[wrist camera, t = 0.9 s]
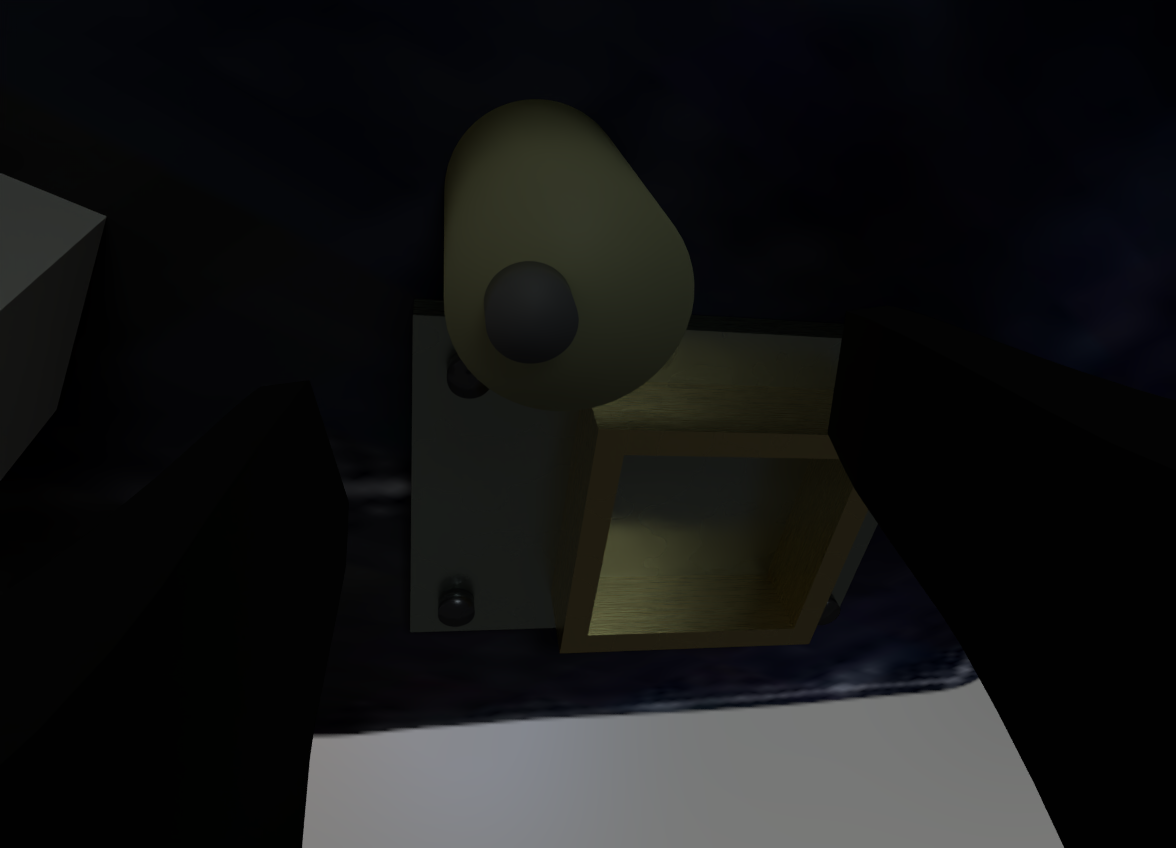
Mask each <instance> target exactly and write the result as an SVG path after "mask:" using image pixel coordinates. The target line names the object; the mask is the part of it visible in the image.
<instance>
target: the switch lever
mask: <svg viewBox="0 0 1176 848" xmlns="http://www.w3.org/2000/svg"><path fill="white" fill-rule="evenodd" d="M693 301H694V277H693V268H692V264H691V260H690V257H689V253H688V251H687V248H686V246H685V244H684V241H683V239H682V238H681V236H680V234H679V233H678V231H677V229H676V228H675V226H674V225H673V223H672V222H671V221H670V219H669V218H668V217H667V215H666V214H665V213H664V211H663V210H662V209H661V207H660V206H659V204H658V203H657V202H656V200H655V199H654V198H653V196H652V195H651V194H650V192H649V191H648V190H647V188H646V187H645V185H644V184H643V183H642V181H641V180H640V179H639V177H638V176H637V175H636V173H635V172H634V171H633V169H632V168H631V166H630V165H629V164H628V162H627V161H626V160H625V158H624V157H623V156H622V154H621V153H620V152H619V150H618V149H617V147H616V146H615V145H614V143H613V142H612V141H611V139H610V138H609V137H608V135H607V134H606V133H605V132H604V131H603V129H602V128H601V127H600V126H599V125H598V124H597V123H596V122H595V121H593V120H592V119H591V118H590V117H588V116H587V115H585V114H584V113H583V112H581V111H579V110H577V109H575V108H573V107H571V106H568V105H566V104H563V103H560V102H555V101H550V100H541V99H530V100H520V101H516V102H512V103H508V104H505V105H503V106H500V107H498V108H496V109H494V110H492V111H490V112H489V113H487V114H485V115H484V116H483V117H481V118H480V119H479V120H477V121H476V122H475V123H474V124H473V125H472V126H471V127H470V128H469V129H468V130H467V131H466V132H465V134H464V135H463V136H462V138H461V139H460V140H459V142H458V144H457V146H456V147H455V149H454V151H453V153H452V156H451V158H450V161H449V164H448V168H447V172H446V176H445V187H444V314H445V320H446V325H447V330H448V333H449V335H450V338H451V341H452V344H453V346H454V348H455V350H456V352H457V354H458V356H459V357H460V359H461V360H462V361H463V363H464V364H465V366H466V367H467V369H468V370H469V371H470V372H471V373H472V374H473V375H474V376H475V377H476V378H477V379H478V380H479V381H480V382H481V383H483V384H484V385H485V386H486V387H487V388H489V389H490V390H492V391H493V392H495V393H497V394H498V395H500V396H501V397H504V398H506V399H508V400H510V401H512V402H514V403H517V404H520V405H523V406H526V407H530V408H535V409H540V410H548V411H576V410H583V409H589V408H593V407H597V406H601V405H604V404H607V403H610V402H612V401H615V400H617V399H619V398H621V397H623V396H625V395H627V394H629V393H631V392H633V391H634V390H636V389H637V388H639V387H640V386H642V385H643V384H644V383H646V382H647V381H648V380H649V379H651V378H652V377H653V376H654V375H655V374H656V373H657V372H658V371H659V370H660V369H661V368H662V367H663V366H664V365H665V364H666V362H667V361H668V360H669V359H670V357H671V356H672V355H673V353H674V352H675V350H676V348H677V347H678V345H679V343H680V342H681V340H682V338H683V335H684V333H685V331H686V329H687V326H688V323H689V320H690V316H691V313H692V307H693Z"/></svg>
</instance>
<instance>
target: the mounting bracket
mask: <svg viewBox="0 0 1176 848" xmlns="http://www.w3.org/2000/svg"><path fill="white" fill-rule="evenodd" d="M843 328H844V324H836V323H819V322H802V321H785V320H768V319H752V318H735V317H718V316H701V315H691V316H690V320H689V323H688V326H687V329H686V331H685V333H684V335H683V338H682V340H681V342H680V343H679V345H678V347H677V348H676V350H675V352H674V353H673V355H672V356H671V357H670V359H669V360H668V361H667V362H666V364H665V365H664V366H663V367H662V368H661V369H660V370H659V371H658V372H657V373H656V374H655V375H654V376H653V377H652V378H651V379H649V380H648V381H647V382H646V383H644V384H643V385H642V386H640V387H639V388H637V389H636V390H634V391H633V392H631V393H629V394H627V395H625V396H623V397H621V398H619V399H617V400H615V401H612V402H610V403H607V404H604V405H601V406H597V407H593V408H589V409H583V410H576V411H548V410H540V409H535V408H530V407H526V406H523V405H520V404H517V403H514V402H512V401H510V400H508V399H506V398H504V397H501V396H500V395H498V394H497V393H495V392H493V391H492V390H490V389H489V388H487V387H486V386H485V385H484V384H483V383H481V382H480V381H479V380H478V379H477V378H476V377H475V376H474V375H473V374H472V373H471V372H470V371H469V370H468V369H467V367H466V366H465V364H464V363H463V361H462V360H461V359H460V357H459V356H458V354H457V352H456V350H455V348H454V346H453V344H452V341H451V338H450V335H449V333H448V330H447V325H446V320H445V314H444V300H430V299H414V308H413V360H412V478H411V596H410V632H437V631H470V630H503V629H536V628H556V632H557V639H558V645H559V652H560V653H583V652H609V651H636V650H662V649H689V648H716V647H742V646H769V645H795V644H809V642H810V640H811V638H812V636H813V633H814V631H815V629H816V627H817V625H825V624H828V623H830V622H832V621H833V620H835V619H836V618H837V617H838V616H839V614H840V605H841V603H842V601H843V599H844V597H845V594H846V592H847V590H848V588H849V586H850V583H851V581H852V579H853V577H854V575H855V573H856V570H857V568H858V566H859V564H860V562H861V559H862V557H863V555H864V553H865V551H866V549H867V546H868V544H869V542H870V540H871V538H872V535H873V533H874V531H875V529H876V527H877V525H878V523H877V522H876V520H875V519H874V517H873V516H872V514H871V513H870V511H869V510H868V508H867V507H866V506H865V504H864V503H863V501H862V500H861V498H860V497H859V495H858V494H857V492H856V491H855V489H854V487H853V485H852V483H851V481H850V479H849V477H848V475H847V473H846V471H845V469H844V467H843V466H842V464H841V461H840V459H839V457H838V455H837V453H836V451H835V448H834V446H833V444H832V442H831V440H830V438H829V436H828V433H827V432H828V426H829V419H830V413H831V406H832V400H833V393H834V387H835V380H836V374H837V367H838V361H839V354H840V348H841V341H842V334H843Z"/></svg>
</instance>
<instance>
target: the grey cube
mask: <svg viewBox="0 0 1176 848" xmlns="http://www.w3.org/2000/svg"><path fill="white" fill-rule="evenodd" d="M105 221H106V216H104V215H102V214H99V213H97V212H94V211H92V210H89V209H87V208H84V207H82V206H80V205H77V204H75V203H72V202H70V201H67V200H65V199H62V198H60V197H57V196H55V195H53V194H50V193H48V192H45V191H43V190H40V189H38V188H35V187H33V186H31V185H28V184H26V183H23V182H21V181H18V180H16V179H13V178H11V177H9V176H6V175H4V174H1V173H0V481H1V479H2V478H3V477H4V476H5V474H6V473H7V472H8V471H9V469H10V468H11V467H12V465H13V464H14V463H15V462H16V460H17V459H18V458H19V457H20V455H21V454H22V453H23V452H24V450H25V449H26V448H27V446H28V445H29V444H30V443H31V441H32V440H33V439H34V438H35V436H36V435H37V434H38V433H39V431H40V430H41V429H42V427H43V426H44V425H45V424H46V422H47V421H48V420H49V419H50V417H51V416H52V415H53V414H54V412H55V411H56V410H57V406H58V402H59V398H60V394H61V391H62V387H63V383H64V379H65V375H66V371H67V367H68V364H69V360H70V356H71V352H72V348H73V344H74V340H75V337H76V333H77V329H78V325H79V321H80V317H81V314H82V310H83V306H84V302H85V298H86V294H87V290H88V287H89V283H90V279H91V275H92V271H93V267H94V263H95V260H96V256H97V252H98V248H99V244H100V240H101V236H102V233H103V229H104V225H105Z"/></svg>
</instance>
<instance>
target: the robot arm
mask: <svg viewBox="0 0 1176 848" xmlns="http://www.w3.org/2000/svg"><path fill="white" fill-rule="evenodd" d="M827 433H828V436H829V438H830V440H831V442H832V444H833V446H834V448H835V451H836V453H837V455H838V457H839V459H840V461H841V464H842V466H843V467H844V469H845V471H846V473H847V475H848V477H849V479H850V481H851V483H852V485H853V487H854V489H855V491H856V492H857V494H858V495H859V497H860V498H861V500H862V501H863V503H864V504H865V506H866V507H867V508H868V510H869V511H870V513H871V514H872V516H873V517H874V519H875V520H876V522H877V523H878V524H879V526H880V527H881V529H882V530H883V532H884V533H885V535H886V536H887V538H888V539H889V540H890V542H891V543H892V545H893V546H894V547H895V549H896V550H897V552H898V553H899V555H900V556H901V557H902V559H903V560H904V562H905V563H906V565H907V566H908V567H909V569H910V570H911V572H912V573H913V574H914V576H915V577H916V579H917V580H918V582H919V583H920V584H921V586H922V587H923V589H924V590H925V592H926V593H927V594H928V596H929V597H930V599H931V600H932V602H933V603H934V604H935V606H936V607H937V609H938V610H939V611H940V613H941V614H942V616H943V618H944V619H945V621H946V622H947V624H948V625H949V627H950V628H951V630H952V632H953V633H954V635H955V636H956V638H957V639H958V641H959V643H960V644H961V646H962V648H963V650H964V651H965V653H966V655H967V657H968V659H969V661H970V662H971V664H972V666H973V668H974V670H975V671H976V673H977V675H978V677H979V679H980V680H981V682H982V684H983V686H984V688H985V690H986V691H987V693H988V695H989V697H990V699H991V701H992V702H993V704H994V706H995V708H996V710H997V712H998V714H999V715H1000V717H1001V719H1002V721H1003V723H1004V725H1005V727H1006V729H1007V731H1008V733H1009V735H1010V737H1011V739H1012V741H1013V743H1014V745H1015V747H1016V749H1017V751H1018V753H1019V755H1020V756H1021V759H1022V761H1023V762H1024V764H1025V766H1026V768H1027V770H1028V772H1029V774H1030V776H1031V778H1032V780H1033V782H1034V784H1035V786H1036V788H1037V790H1038V792H1039V795H1040V797H1041V799H1042V801H1043V803H1044V805H1045V808H1046V810H1047V812H1048V814H1049V816H1050V818H1051V820H1052V823H1053V825H1054V827H1055V829H1056V831H1057V833H1058V835H1059V838H1060V840H1061V842H1062V844H1063V846H1064V848H1176V401H1175V400H1171V399H1168V398H1164V397H1161V396H1157V395H1154V394H1150V393H1147V392H1143V391H1140V390H1137V389H1133V388H1130V387H1127V386H1124V385H1121V384H1118V383H1115V382H1112V381H1109V380H1105V379H1102V378H1099V377H1096V376H1093V375H1090V374H1087V373H1084V372H1081V371H1078V370H1075V369H1072V368H1069V367H1066V366H1063V365H1060V364H1057V363H1054V362H1052V361H1049V360H1046V359H1043V358H1040V357H1038V356H1035V355H1032V354H1029V353H1027V352H1024V351H1021V350H1018V349H1016V348H1013V347H1010V346H1007V345H1005V344H1002V343H999V342H997V341H994V340H991V339H989V338H986V337H983V336H981V335H978V334H975V333H972V332H970V331H967V330H964V329H962V328H959V327H956V326H953V325H951V324H948V323H945V322H942V321H939V320H936V319H933V318H930V317H928V316H925V315H921V314H918V313H915V312H912V311H908V310H905V309H901V308H896V307H892V306H883V307H875V308H868V309H860V310H852V311H846V315H845V321H844V328H843V334H842V341H841V348H840V354H839V361H838V367H837V374H836V380H835V387H834V393H833V400H832V406H831V413H830V419H829V426H828V432H827ZM348 508H349V502H348V499H347V495H346V492H345V489H344V486H343V483H342V480H341V477H340V474H339V471H338V467H337V464H336V461H335V458H334V455H333V452H332V449H331V446H330V443H329V439H328V436H327V433H326V430H325V427H324V424H323V421H322V418H321V415H320V412H319V408H318V405H317V402H316V399H315V396H314V393H313V390H312V387H311V384H310V380H309V381H301V382H294V383H286V384H278V385H270V386H263V387H260V388H258V389H257V390H256V391H254V392H253V393H252V394H250V395H249V396H248V397H247V398H245V399H244V400H243V401H242V402H241V403H239V404H238V405H237V406H236V407H235V408H234V409H232V410H231V411H230V412H229V413H228V414H227V415H226V416H225V417H223V418H222V419H221V420H220V421H219V422H218V423H217V424H216V425H215V426H214V427H212V428H211V429H210V430H209V431H208V432H207V433H206V434H205V435H204V436H202V437H201V438H200V439H199V440H198V441H197V442H196V443H195V444H193V445H192V446H191V447H190V448H189V449H188V450H187V451H186V452H184V453H183V454H182V455H181V456H180V457H179V458H178V459H177V460H175V461H174V462H173V463H172V464H171V465H170V466H169V467H168V468H166V469H165V470H164V471H163V472H162V473H161V474H160V475H159V476H157V477H156V478H155V479H154V480H153V481H151V482H150V483H149V484H148V485H147V486H145V487H144V488H143V489H142V490H140V491H139V492H138V493H137V494H135V495H134V496H133V497H132V498H131V499H129V500H128V501H127V502H126V503H124V504H123V505H122V506H121V507H120V508H118V509H117V510H116V511H115V512H113V513H112V514H111V515H110V516H108V517H107V518H106V519H105V520H104V521H102V522H101V523H100V524H99V525H97V526H96V527H95V528H94V529H93V530H91V531H90V532H89V533H88V534H86V535H85V536H84V537H82V538H81V539H80V540H78V541H77V542H76V543H74V544H73V545H72V546H70V547H69V548H68V549H66V550H65V551H64V552H62V553H61V554H59V555H58V556H57V557H55V558H54V559H53V560H51V561H50V562H48V563H47V564H46V565H44V566H43V567H41V568H40V569H38V570H37V571H36V572H34V573H33V574H31V575H30V576H28V577H27V578H25V579H24V580H22V581H21V582H20V583H18V584H17V585H15V586H14V587H12V588H11V589H9V590H8V591H6V592H5V593H3V594H2V595H1V596H0V848H302V840H303V829H304V817H305V806H306V794H307V784H308V772H309V761H310V753H311V747H312V740H313V734H314V727H315V721H316V716H317V711H318V706H319V701H320V696H321V691H322V686H323V681H324V676H325V671H326V666H327V661H328V656H329V651H330V646H331V641H332V636H333V631H334V626H335V621H336V615H337V610H338V605H339V600H340V595H341V589H342V584H343V579H344V573H345V567H346V552H347V534H348Z"/></svg>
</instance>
